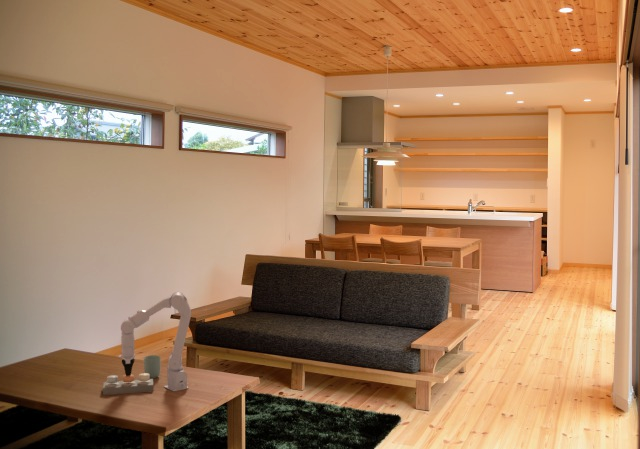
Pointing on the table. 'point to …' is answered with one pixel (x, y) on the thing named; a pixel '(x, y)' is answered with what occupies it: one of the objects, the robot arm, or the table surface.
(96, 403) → the table surface
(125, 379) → the terracotta button
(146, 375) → the cream button
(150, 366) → the cup
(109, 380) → the light grey button
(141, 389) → the console
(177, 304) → the robot arm
